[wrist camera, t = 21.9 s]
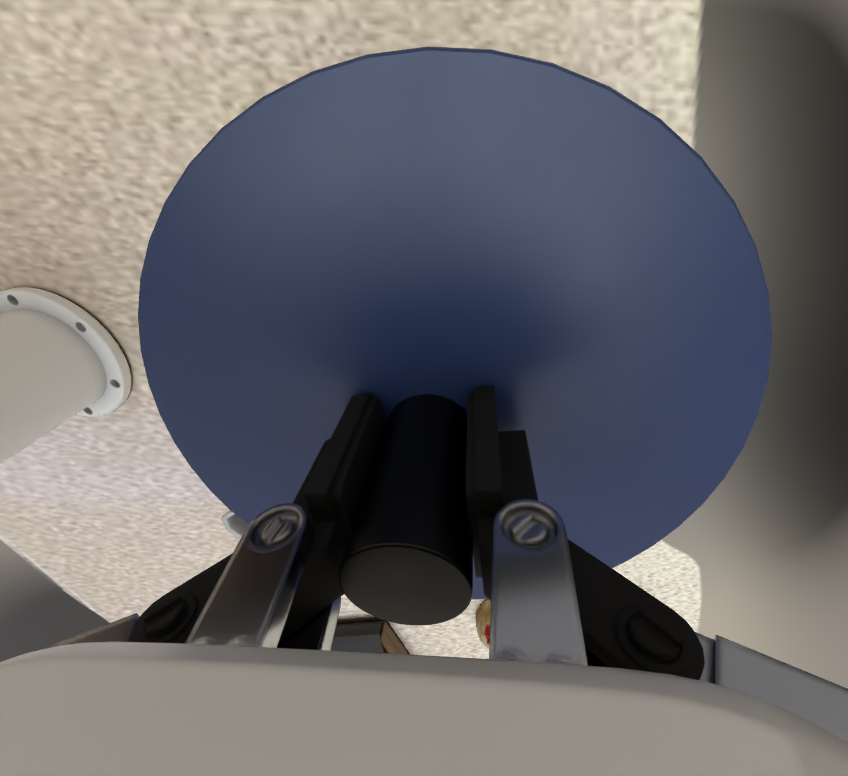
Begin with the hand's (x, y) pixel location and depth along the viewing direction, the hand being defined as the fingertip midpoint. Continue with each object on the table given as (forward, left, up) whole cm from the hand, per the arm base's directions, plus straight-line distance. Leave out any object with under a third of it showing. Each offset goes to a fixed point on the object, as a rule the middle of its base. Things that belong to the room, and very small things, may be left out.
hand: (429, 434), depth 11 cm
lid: (0, 0, -1) cm, 1 cm away
